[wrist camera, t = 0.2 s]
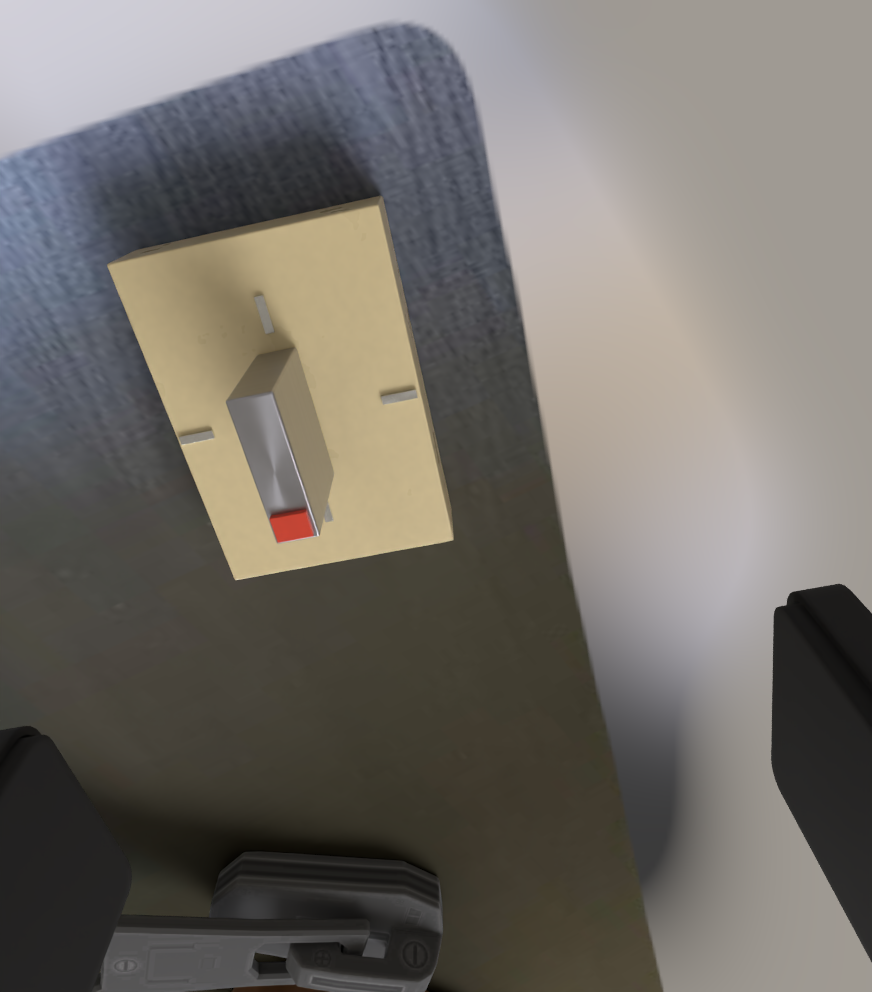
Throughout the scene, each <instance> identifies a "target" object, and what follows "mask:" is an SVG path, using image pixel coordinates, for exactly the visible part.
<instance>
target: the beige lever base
mask: <svg viewBox="0 0 872 992" xmlns="http://www.w3.org/2000/svg"><path fill="white" fill-rule="evenodd" d="M107 266H108V269H109V271H110V274H111V276H112V279H113V281H114V283H115V286H116V288H117V291H118V293H119V296H120V298H121V301H122V303H123V306H124V308H125V311H126V313H127V315H128V318H129V320H130V323H131V325H132V328H133V330H134V333H135V335H136V338H137V340H138V343H139V345H140V347H141V350H142V352H143V355H144V357H145V360H146V362H147V365H148V367H149V370H150V372H151V374H152V377H153V379H154V382H155V384H156V387H157V389H158V392H159V394H160V397H161V399H162V402H163V404H164V406H165V409H166V411H167V414H168V416H169V419H170V421H171V424H172V426H173V429H174V431H175V434H176V436H177V438H178V441H179V443H180V446H181V448H182V451H183V453H184V456H185V458H186V461H187V463H188V466H189V468H190V470H191V473H192V475H193V478H194V480H195V483H196V485H197V488H198V490H199V493H200V495H201V498H202V500H203V502H204V505H205V507H206V510H207V512H208V515H209V517H210V520H211V522H212V525H213V527H214V529H215V532H216V534H217V537H218V539H219V542H220V544H221V547H222V549H223V552H224V554H225V557H226V559H227V561H228V564H229V566H230V569H231V571H232V574H233V576H234V579H235V580H239V579H245V578H250V577H256V576H261V575H266V574H272V573H277V572H283V571H288V570H294V569H299V568H305V567H310V566H316V565H321V564H327V563H332V562H337V561H343V560H348V559H354V558H359V557H365V556H370V555H376V554H381V553H387V552H392V551H398V550H403V549H408V548H414V547H419V546H425V545H430V544H436V543H441V542H447V541H452V540H453V539H454V537H453V524H452V512H451V504H450V500H449V495H448V491H447V486H446V481H445V477H444V472H443V468H442V463H441V459H440V454H439V450H438V445H437V441H436V436H435V432H434V427H433V423H432V418H431V413H430V409H429V404H428V400H427V395H426V391H425V386H424V382H423V377H422V373H421V368H420V364H419V359H418V355H417V350H416V345H415V341H414V336H413V332H412V327H411V323H410V318H409V314H408V309H407V305H406V300H405V296H404V291H403V287H402V282H401V277H400V273H399V268H398V264H397V259H396V255H395V250H394V246H393V241H392V237H391V232H390V228H389V223H388V219H387V214H386V209H385V205H384V200H383V197H382V196H377V197H372V198H368V199H363V200H359V201H354V202H350V203H345V204H341V205H336V206H332V207H327V208H323V209H318V210H314V211H309V212H305V213H300V214H296V215H291V216H287V217H282V218H278V219H273V220H269V221H264V222H260V223H255V224H251V225H246V226H242V227H237V228H233V229H228V230H224V231H219V232H215V233H210V234H206V235H201V236H197V237H192V238H188V239H183V240H179V241H174V242H170V243H165V244H161V245H156V246H152V247H147V248H143V249H138V250H135V251H133V252H131V253H129V254H127V255H125V256H123V257H121V258H119V259H116V260H114V261H112V262H110V263H108V264H107ZM289 348H296V349H297V351H298V354H299V358H300V361H301V364H302V368H303V371H304V374H305V377H306V381H307V384H308V387H309V391H310V394H311V397H312V401H313V404H314V407H315V411H316V414H317V417H318V421H319V424H320V427H321V431H322V434H323V437H324V441H325V444H326V447H327V450H328V454H329V457H330V460H331V464H332V467H333V470H334V477H333V481H332V485H331V490H330V494H329V498H328V502H327V507H326V511H325V515H324V519H323V523H322V528H321V532H320V535H319V536H318V537H312V538H307V539H301V540H296V541H291V542H285V543H280V544H277V542H276V540H275V537H274V534H273V531H272V529H271V526H270V523H269V520H268V518H267V515H266V512H265V509H264V507H263V504H262V501H261V498H260V496H259V493H258V490H257V487H256V485H255V482H254V479H253V476H252V474H251V471H250V468H249V465H248V463H247V460H246V457H245V454H244V451H243V449H242V446H241V443H240V440H239V438H238V435H237V432H236V429H235V427H234V424H233V421H232V418H231V416H230V413H229V410H228V407H227V405H226V400H227V399H228V397H229V396H230V394H231V393H232V391H233V390H234V388H235V387H236V385H237V384H238V383H239V381H240V380H241V378H242V377H243V375H244V374H245V372H246V371H247V369H248V368H249V366H250V365H251V363H252V362H253V360H254V359H255V357H256V356H257V355H260V354H265V353H270V352H274V351H279V350H284V349H289Z"/></svg>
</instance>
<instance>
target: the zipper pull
mask: <svg viewBox="0 0 872 992" xmlns="http://www.w3.org/2000/svg"><path fill="white" fill-rule="evenodd" d="M442 934H443V917H442V898H441V891H440V883H439V879H438V877H436V876H434V875H432V874H430V873H428V872H425V871H423V870H421V869H419V868H417V867H415V866H412V865H410V864H408V863H406V862H404V861H398V860H383V859H368V858H353V857H338V856H323V855H308V854H293V853H277V852H262V851H258V852H244V853H243V854H241V855H240V856H239V857H238V858H236V859H235V860H234V861H233V862H231V863H230V864H229V865H228V866H226V867H225V868H224V869H223V870H222V871H221V872H220V873H219V876H218V880H217V884H216V887H215V891H214V895H213V899H212V903H211V908H210V914H209V917H182V916H151V915H120V918H119V921H118V923H117V926H116V929H115V931H114V934H113V937H112V939H111V942H110V945H109V947H108V950H107V953H106V955H105V958H104V961H103V963H102V966H101V973H99V974H98V977H97V979H96V982H95V985H94V987H93V990H92V992H184V991H197V990H210V989H223V988H235V987H248V986H271V985H294V984H296V985H297V986H299V987H305V988H311V989H317V990H323V991H329V992H425V991H426V989H427V987H428V984H429V982H430V980H431V977H432V975H433V973H434V970H435V968H436V965H437V961H438V956H439V950H440V945H441V940H442ZM255 952H257V953H262V954H268V955H273V956H278V957H284V958H287V960H286V961H283V962H257V961H256V960H255V959H254V955H255Z"/></svg>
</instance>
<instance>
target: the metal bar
mask: <svg viewBox="0 0 872 992" xmlns="http://www.w3.org/2000/svg"><path fill="white" fill-rule="evenodd" d="M226 405H227V407H228V410H229V413H230V416H231V418H232V421H233V424H234V427H235V429H236V432H237V435H238V438H239V440H240V443H241V446H242V449H243V451H244V454H245V457H246V460H247V463H248V465H249V468H250V471H251V474H252V476H253V479H254V482H255V485H256V487H257V490H258V493H259V496H260V498H261V501H262V504H263V507H264V509H265V512H266V515H267V518H268V520H269V523H270V526H271V529H272V531H273V534H274V537H275V540H276V542H277V544H280V543H285V542H291V541H296V540H301V539H307V538H312V537H318V536H319V535H320V532H321V528H322V523H323V519H324V515H325V511H326V507H327V502H328V498H329V494H330V490H331V485H332V481H333V477H334V470H333V467H332V464H331V460H330V457H329V454H328V450H327V447H326V444H325V441H324V437H323V434H322V431H321V427H320V424H319V421H318V417H317V414H316V411H315V407H314V404H313V401H312V397H311V394H310V391H309V387H308V384H307V381H306V377H305V374H304V371H303V368H302V364H301V361H300V358H299V354H298V351H297V349H296V348H289V349H284V350H279V351H274V352H270V353H265V354H260V355H257V356H256V357H255V359H254V360H253V362H252V363H251V365H250V366H249V368H248V369H247V371H246V372H245V374H244V375H243V377H242V378H241V380H240V381H239V383H238V384H237V385H236V387H235V388H234V390H233V391H232V393H231V394H230V396H229V397H228V399H227V400H226Z"/></svg>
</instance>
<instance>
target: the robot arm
mask: <svg viewBox="0 0 872 992" xmlns="http://www.w3.org/2000/svg"><path fill="white" fill-rule="evenodd" d="M771 755H772V756H771V761H772V768H773V773H774V776H775V780H776V782H777V785H778V788H779V790H780V792H781V794H782V795H783V798H784V799H785V801H786V803H787V805H788V807H789V809H790V811H791V812H792V814H793V816H794V818H795V820H796V822H797V824H798V826H799V827H800V829H801V831H802V833H803V835H804V837H805V839H806V840H807V842H808V844H809V846H810V848H811V850H812V852H813V853H814V855H815V857H816V859H817V861H818V863H819V865H820V867H821V868H822V870H823V872H824V874H825V876H826V878H827V880H828V882H829V883H830V885H831V887H832V889H833V891H834V892H835V895H836V896H837V898H838V900H839V902H840V904H841V906H842V907H843V910H844V911H845V913H846V915H847V917H848V919H849V921H850V923H851V924H852V926H853V928H854V930H855V932H856V934H857V936H858V938H859V939H860V941H861V943H862V945H863V947H864V949H865V951H866V952H867V954H868V956H869V958H870V960H871V962H872V613H871V612H870V611H869V610H868V609H867V608H866V607H865V606H864V605H863V603H862V602H861V601H860V600H859V599H858V598H857V597H856V596H855V595H854V594H853V592H852V591H851V590H849V589H848V588H847V587H846V586H844V585H842V584H835V585H830V586H824V587H818V588H812V589H807V590H801V591H796V592H792V593H790V595H789V596H788V599H787V605H786V606H781V607H777V608H776V609H775V612H774V637H773V693H772V750H771ZM131 880H132V873H131V867H130V864H129V861H128V859H127V858H126V856H125V855H124V853H123V851H122V850H121V848H120V847H119V845H118V843H117V842H116V840H115V839H114V837H113V836H112V834H111V832H110V831H109V829H108V828H107V826H106V824H105V823H104V821H103V820H102V818H101V817H100V815H99V813H98V812H97V810H96V809H95V807H94V805H93V804H92V802H91V801H90V799H89V798H88V796H87V794H86V793H85V791H84V790H83V788H82V786H81V785H80V783H79V782H78V780H77V779H76V777H75V775H74V774H73V772H72V771H71V769H70V768H69V766H68V764H67V763H66V761H65V760H64V758H63V756H62V755H61V753H60V752H59V750H58V749H57V747H56V745H55V744H54V742H53V741H52V740H51V739H50V737H48V736H46V735H41V734H40V732H39V731H38V730H37V729H35V728H33V727H31V726H23V727H17V728H11V729H6V730H0V992H92V990H93V987H94V985H95V982H96V979H97V977H98V974H99V971H100V969H101V966H102V963H103V961H104V958H105V955H106V953H107V950H108V947H109V945H110V942H111V939H112V937H113V934H114V931H115V929H116V926H117V923H118V921H119V918H120V915H121V913H122V910H123V907H124V905H125V902H126V899H127V897H128V894H129V891H130V887H131Z"/></svg>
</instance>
